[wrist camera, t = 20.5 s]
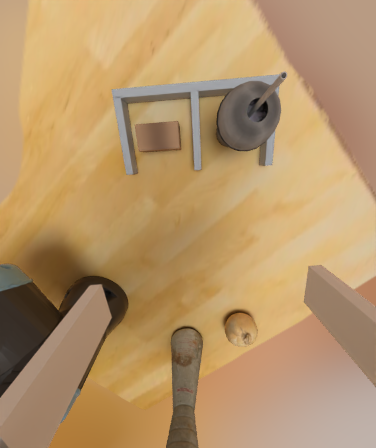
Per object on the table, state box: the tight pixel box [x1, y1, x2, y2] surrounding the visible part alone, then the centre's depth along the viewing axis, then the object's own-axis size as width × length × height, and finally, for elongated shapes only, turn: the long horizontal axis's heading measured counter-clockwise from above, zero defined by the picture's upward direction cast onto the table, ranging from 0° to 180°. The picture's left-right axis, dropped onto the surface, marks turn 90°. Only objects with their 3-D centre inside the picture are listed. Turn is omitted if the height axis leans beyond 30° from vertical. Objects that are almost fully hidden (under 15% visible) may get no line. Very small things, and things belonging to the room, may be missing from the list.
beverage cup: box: [216, 72, 287, 151], centre depth 23 cm, size 7×7×20 cm
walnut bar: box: [135, 121, 181, 152], centre depth 31 cm, size 7×4×4 cm, turn 94°
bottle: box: [166, 329, 203, 448], centre depth 37 cm, size 9×9×28 cm
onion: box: [225, 313, 258, 347], centre depth 44 cm, size 8×8×7 cm
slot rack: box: [112, 75, 279, 175], centre depth 31 cm, size 26×13×3 cm, turn 94°
